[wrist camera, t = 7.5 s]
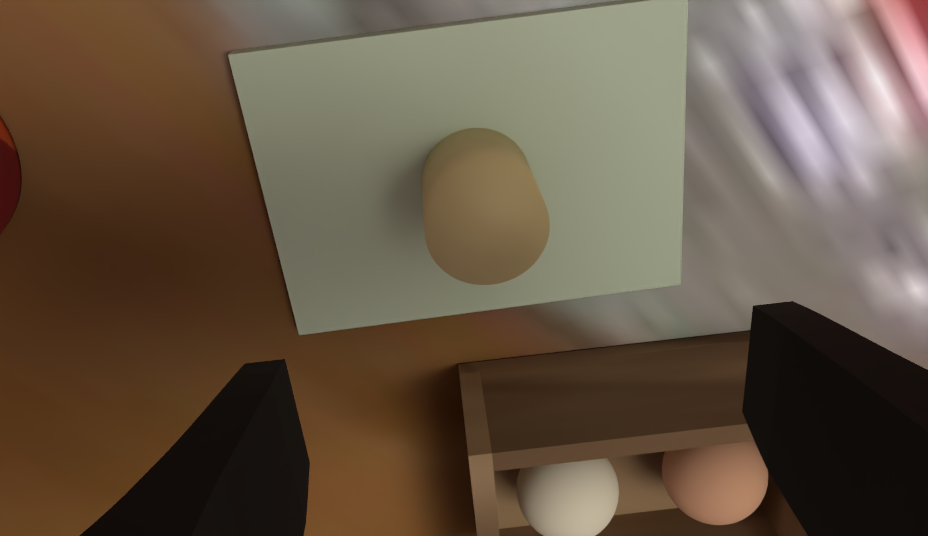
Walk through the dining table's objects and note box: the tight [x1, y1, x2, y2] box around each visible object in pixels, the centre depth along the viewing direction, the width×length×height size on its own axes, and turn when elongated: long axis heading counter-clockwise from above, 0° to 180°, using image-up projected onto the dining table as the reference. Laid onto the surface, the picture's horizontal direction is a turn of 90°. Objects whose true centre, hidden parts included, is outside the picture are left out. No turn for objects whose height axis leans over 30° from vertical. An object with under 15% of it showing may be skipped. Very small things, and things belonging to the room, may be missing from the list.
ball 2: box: [662, 441, 768, 525], centre depth 23 cm, size 3×3×3 cm
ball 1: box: [517, 458, 619, 536], centre depth 23 cm, size 3×3×3 cm
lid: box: [228, 0, 688, 335], centre depth 19 cm, size 8×11×4 cm
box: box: [458, 331, 808, 536], centre depth 23 cm, size 7×10×4 cm
